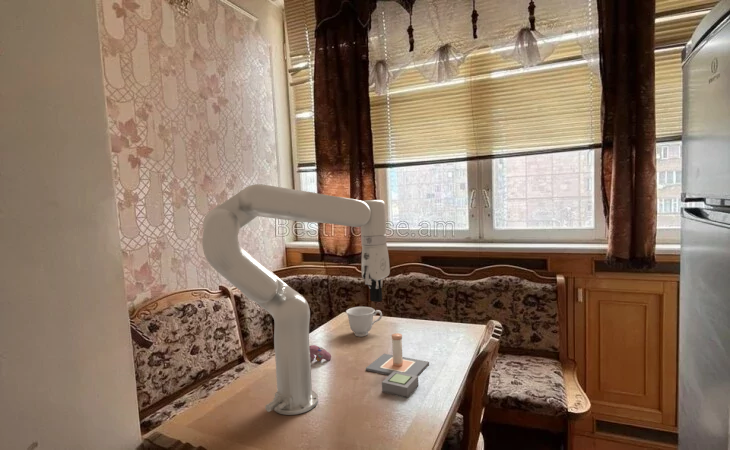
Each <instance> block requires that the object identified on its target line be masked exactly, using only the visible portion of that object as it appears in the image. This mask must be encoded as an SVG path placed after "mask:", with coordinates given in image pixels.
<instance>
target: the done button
mask: <svg viewBox="0 0 730 450" xmlns="http://www.w3.org/2000/svg"><path fill="white" fill-rule="evenodd" d="M410 379H411V377H410V376H405V375H401V374H395V375H394V376H393V377H392V378H391V379H390V380H389V382H393V383H398V384H402V385H406V383H407V382H408V381H409V380H410Z"/></svg>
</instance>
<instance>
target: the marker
mask: <svg viewBox="0 0 730 450" xmlns="http://www.w3.org/2000/svg"><path fill="white" fill-rule="evenodd" d="M391 342H392V344H391V345H392V347H391V348H392V355H393V366H396V367H400V366H402V365H403V359H402V357H403V335H402V333H398V332H397V333H392V334H391Z"/></svg>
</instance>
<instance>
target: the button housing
mask: <svg viewBox="0 0 730 450" xmlns="http://www.w3.org/2000/svg"><path fill="white" fill-rule="evenodd" d="M395 374H401V375H405V376H410V377H411V379H410V380H409V381H408V382H407V383H406V385H402V384H398V383H393V382H389V380H390V379H391V378H392V377H393V376H394V375H395ZM418 387H419V376H415V375H411V374H406V373H401V372H396V371H393V372H392V373H391V374H390V375H387V377H385V378H384V379H383V381H381V392H382V393H385V394H388V395H391V396H397V397H401V398H406V399H409V397H410V396H411V395H412V394H413V393H414V391H415V390H417V388H418Z"/></svg>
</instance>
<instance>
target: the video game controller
mask: <svg viewBox="0 0 730 450" xmlns="http://www.w3.org/2000/svg"><path fill="white" fill-rule="evenodd" d="M309 346H310V361H314V360H315V361H316V362H319V363H321V362H322V360H325V361H331V359H332V354H331V353H330V352H328V351H327V349H324V348H323V347H321V346H318V345H316V344H314V345H313V344H312V345H309Z"/></svg>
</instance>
